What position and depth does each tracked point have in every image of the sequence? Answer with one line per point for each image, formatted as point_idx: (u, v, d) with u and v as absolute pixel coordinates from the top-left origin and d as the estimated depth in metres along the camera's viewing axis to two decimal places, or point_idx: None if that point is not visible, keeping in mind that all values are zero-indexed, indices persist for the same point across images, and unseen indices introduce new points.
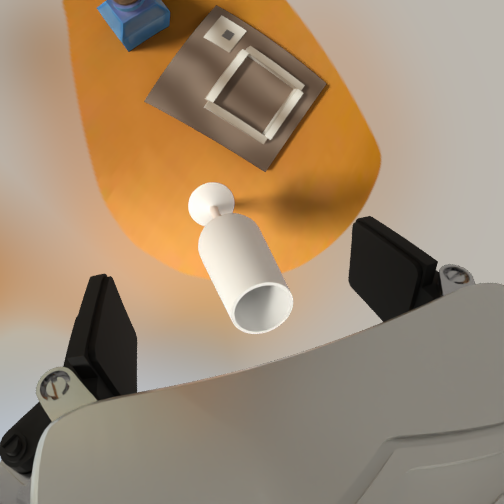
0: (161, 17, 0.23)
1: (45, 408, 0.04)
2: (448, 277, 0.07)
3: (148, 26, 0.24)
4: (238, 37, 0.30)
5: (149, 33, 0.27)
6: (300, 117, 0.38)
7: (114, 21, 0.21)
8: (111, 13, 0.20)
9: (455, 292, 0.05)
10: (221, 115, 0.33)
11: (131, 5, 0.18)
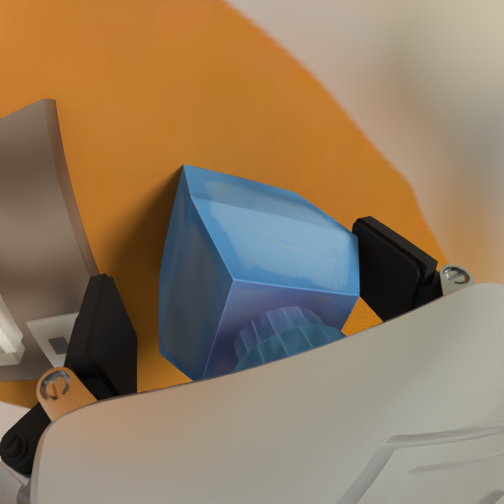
0: (163, 324, 0.11)
1: (45, 408, 0.04)
2: (448, 277, 0.07)
3: (169, 278, 0.11)
4: (48, 352, 0.14)
5: (168, 243, 0.13)
6: None
7: (275, 247, 0.08)
8: (305, 270, 0.08)
9: (455, 292, 0.05)
10: None
11: None
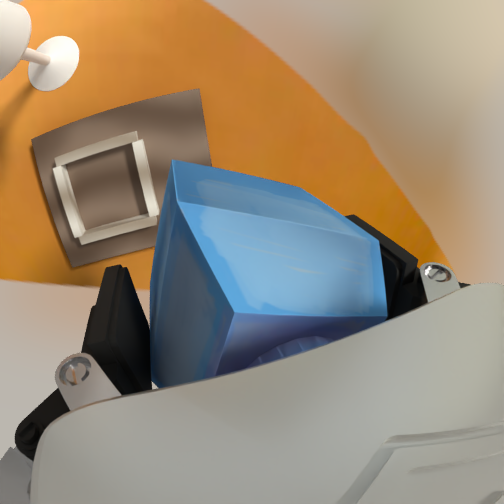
0: (153, 349, 0.09)
1: (65, 393, 0.05)
2: (429, 276, 0.07)
3: (157, 297, 0.09)
4: None
5: (157, 251, 0.11)
6: (54, 216, 0.28)
7: (286, 261, 0.07)
8: (325, 291, 0.06)
9: (455, 292, 0.05)
10: (113, 139, 0.25)
11: None
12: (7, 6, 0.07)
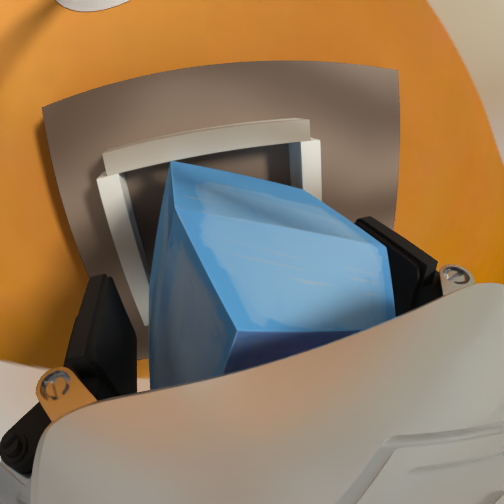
0: (152, 360, 0.08)
1: (45, 408, 0.04)
2: (448, 277, 0.07)
3: (155, 306, 0.08)
4: None
5: (155, 256, 0.11)
6: None
7: (292, 272, 0.06)
8: (332, 303, 0.06)
9: (455, 292, 0.05)
10: (260, 127, 0.12)
11: None
12: None
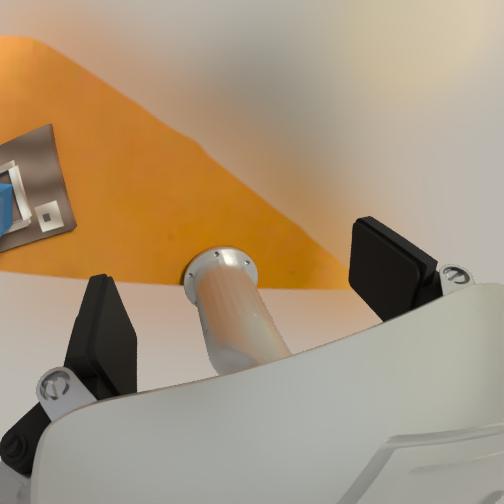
0: None
1: (45, 408, 0.04)
2: (448, 277, 0.07)
3: None
4: (41, 222, 0.35)
5: None
6: None
7: None
8: None
9: (455, 292, 0.05)
10: None
11: None
12: None
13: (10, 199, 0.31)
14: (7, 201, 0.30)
